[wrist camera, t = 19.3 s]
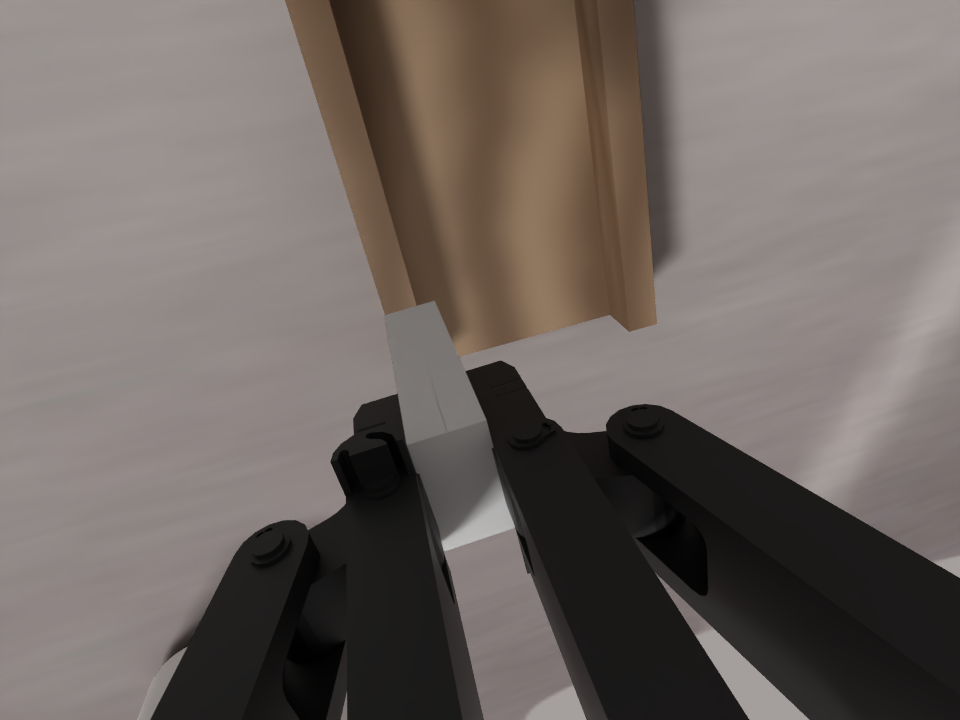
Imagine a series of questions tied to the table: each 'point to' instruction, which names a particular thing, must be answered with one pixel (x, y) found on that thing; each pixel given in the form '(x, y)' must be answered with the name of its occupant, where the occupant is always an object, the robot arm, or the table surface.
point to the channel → (490, 157)
